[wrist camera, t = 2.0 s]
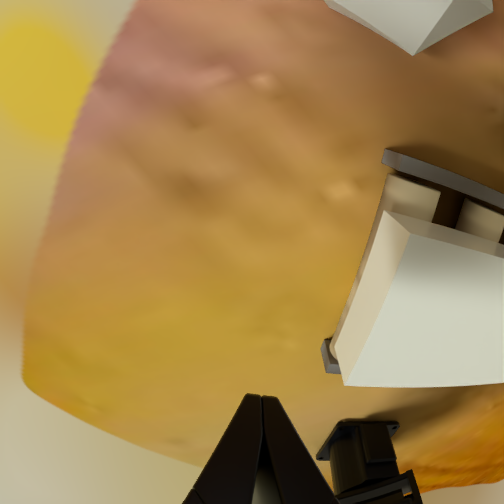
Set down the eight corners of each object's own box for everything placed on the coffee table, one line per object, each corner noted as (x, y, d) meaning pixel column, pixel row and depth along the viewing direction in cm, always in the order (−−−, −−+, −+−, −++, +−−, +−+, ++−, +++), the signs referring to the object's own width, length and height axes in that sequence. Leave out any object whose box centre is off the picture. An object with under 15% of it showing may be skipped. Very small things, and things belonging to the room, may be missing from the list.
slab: (511, 355, 18) (529, 379, 15) (334, 346, 17) (344, 385, 14) (558, 264, 15) (583, 284, 12) (383, 209, 14) (410, 233, 11)
